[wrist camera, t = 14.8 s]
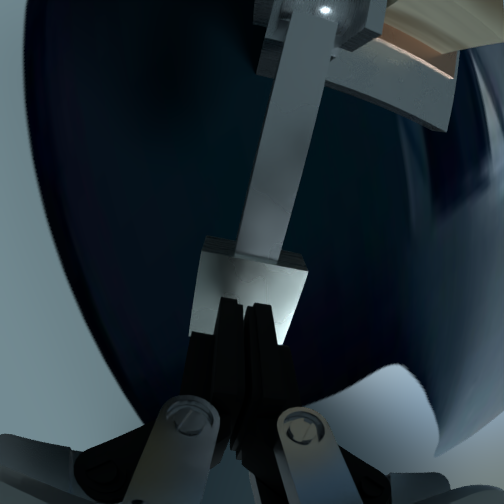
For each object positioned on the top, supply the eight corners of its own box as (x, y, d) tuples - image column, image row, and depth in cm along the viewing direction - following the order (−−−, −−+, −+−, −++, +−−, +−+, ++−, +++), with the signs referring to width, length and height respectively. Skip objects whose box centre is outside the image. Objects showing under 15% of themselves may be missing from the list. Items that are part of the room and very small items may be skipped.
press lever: (278, 314, 15) (287, 370, 12) (192, 299, 15) (179, 353, 11) (370, -56, 7) (401, -91, 4) (285, -82, 7) (296, -126, 3)
